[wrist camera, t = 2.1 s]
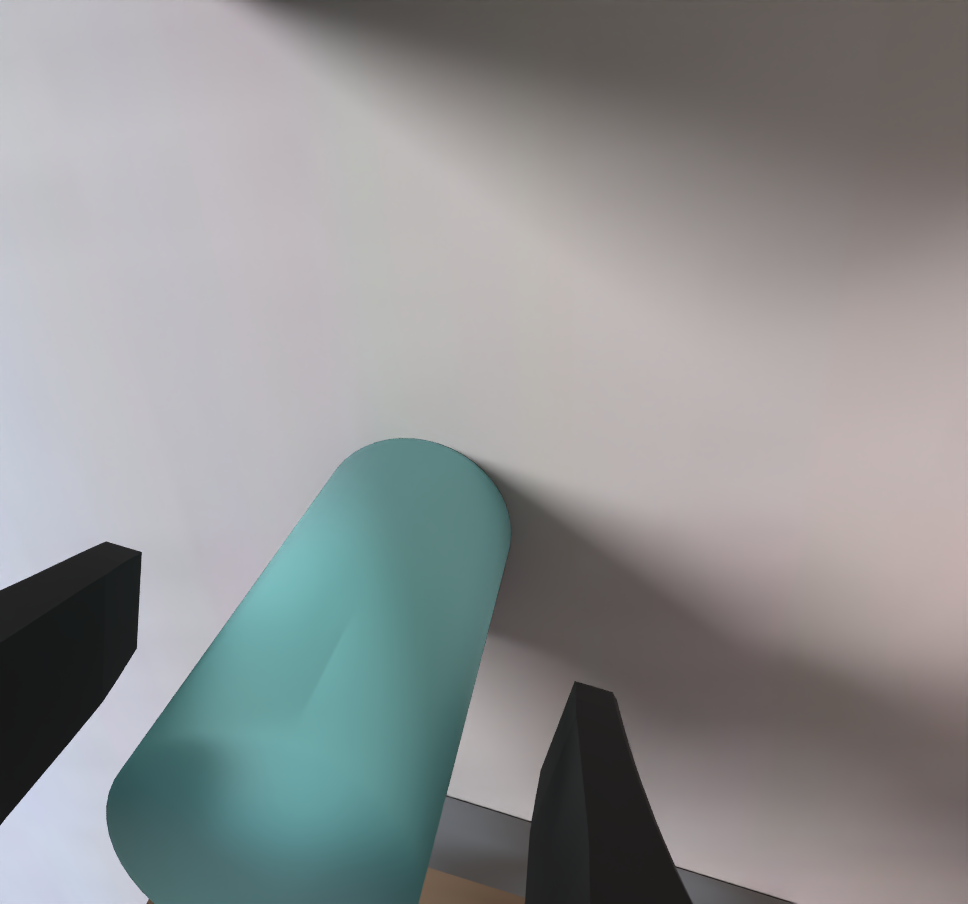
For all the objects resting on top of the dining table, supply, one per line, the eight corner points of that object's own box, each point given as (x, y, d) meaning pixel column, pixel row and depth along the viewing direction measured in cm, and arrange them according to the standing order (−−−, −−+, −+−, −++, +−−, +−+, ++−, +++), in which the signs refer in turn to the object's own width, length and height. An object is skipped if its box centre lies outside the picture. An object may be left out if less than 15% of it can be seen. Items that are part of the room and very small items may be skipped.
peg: (551, 539, 17) (489, 894, 10) (418, 636, 19) (282, 1001, 11) (411, 399, 16) (231, 676, 9) (285, 513, 18) (49, 825, 11)
